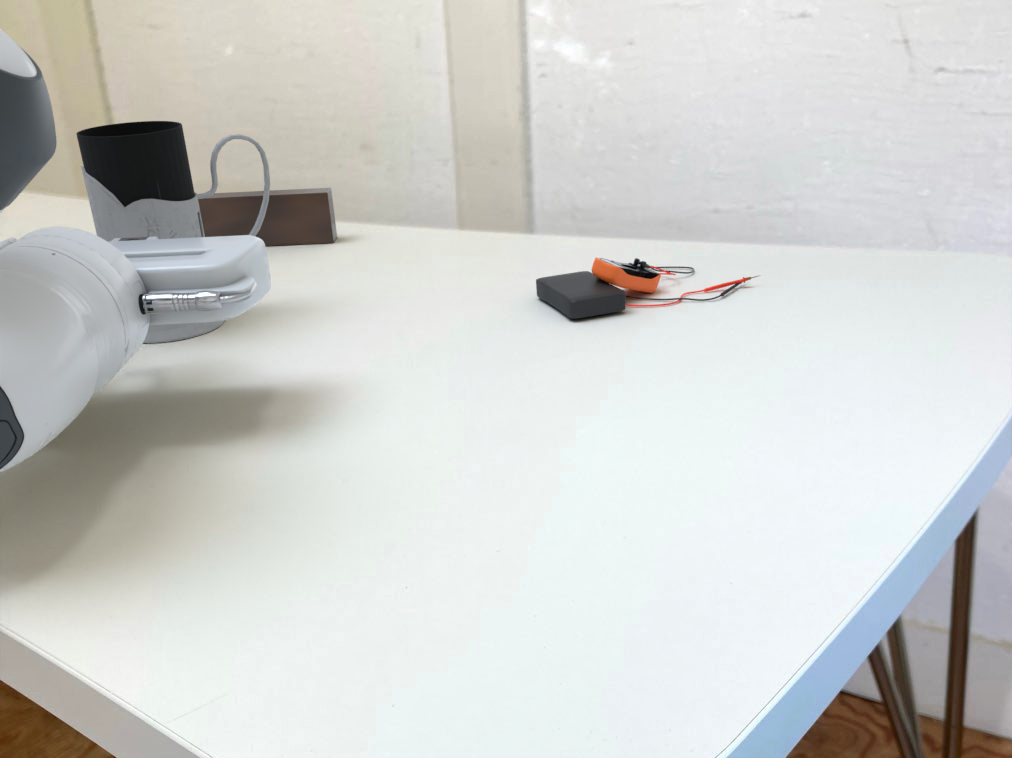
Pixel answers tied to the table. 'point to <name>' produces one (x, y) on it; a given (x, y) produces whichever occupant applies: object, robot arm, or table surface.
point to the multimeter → (609, 287)
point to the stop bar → (272, 216)
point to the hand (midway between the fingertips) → (140, 248)
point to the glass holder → (150, 192)
